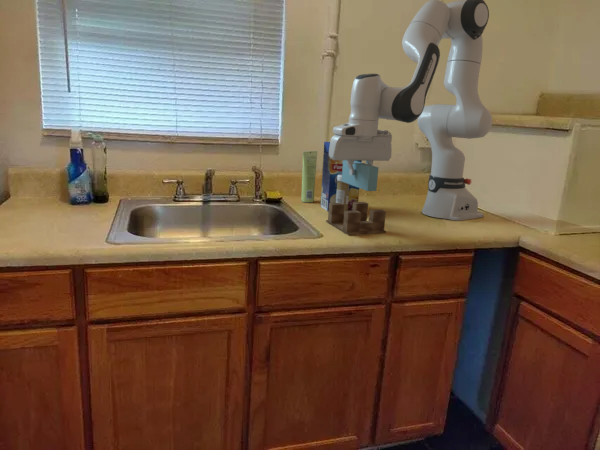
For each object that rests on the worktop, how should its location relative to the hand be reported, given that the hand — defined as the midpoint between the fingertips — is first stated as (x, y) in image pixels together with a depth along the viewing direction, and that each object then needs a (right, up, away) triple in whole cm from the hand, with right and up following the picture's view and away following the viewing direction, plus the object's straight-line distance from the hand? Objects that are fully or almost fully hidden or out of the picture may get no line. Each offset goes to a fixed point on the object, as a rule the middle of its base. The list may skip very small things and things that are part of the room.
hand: (358, 175), depth 148 cm
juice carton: (-4, -10, +29) cm, 31 cm away
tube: (-15, -7, +38) cm, 42 cm away
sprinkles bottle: (-3, -11, +23) cm, 26 cm away
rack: (-1, -16, +4) cm, 17 cm away
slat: (0, -3, +1) cm, 3 cm away
